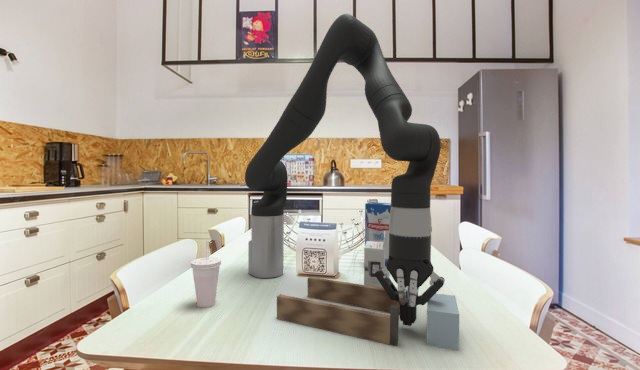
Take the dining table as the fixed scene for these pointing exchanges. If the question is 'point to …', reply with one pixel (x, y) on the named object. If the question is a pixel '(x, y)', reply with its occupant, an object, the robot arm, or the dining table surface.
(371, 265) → the ink box
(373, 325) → the chute
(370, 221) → the milk carton
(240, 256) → the dining table surface
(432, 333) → the slate block
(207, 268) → the smoothie
